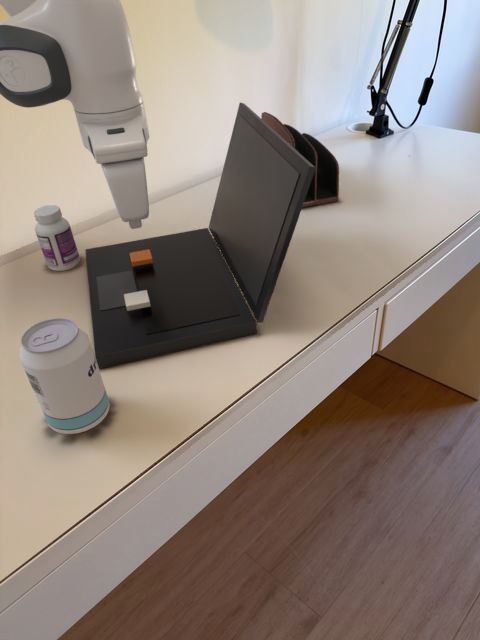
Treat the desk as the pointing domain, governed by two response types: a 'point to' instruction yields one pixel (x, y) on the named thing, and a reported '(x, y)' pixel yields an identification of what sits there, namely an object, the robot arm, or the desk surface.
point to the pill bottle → (56, 238)
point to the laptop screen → (258, 206)
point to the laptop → (164, 298)
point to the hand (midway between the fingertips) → (135, 224)
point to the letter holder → (318, 155)
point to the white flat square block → (137, 300)
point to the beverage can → (64, 375)
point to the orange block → (141, 257)
